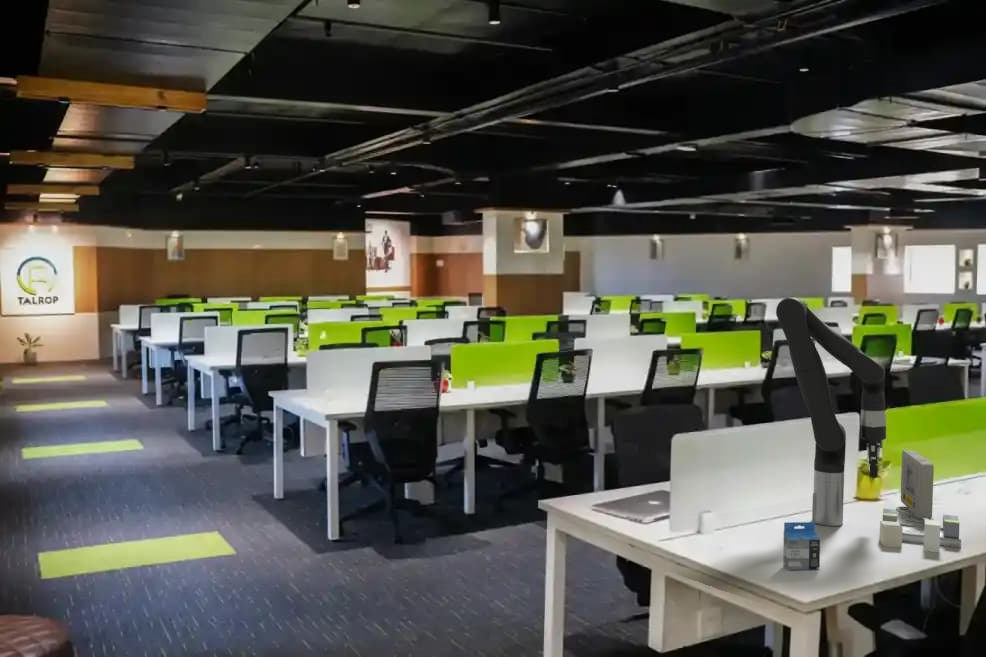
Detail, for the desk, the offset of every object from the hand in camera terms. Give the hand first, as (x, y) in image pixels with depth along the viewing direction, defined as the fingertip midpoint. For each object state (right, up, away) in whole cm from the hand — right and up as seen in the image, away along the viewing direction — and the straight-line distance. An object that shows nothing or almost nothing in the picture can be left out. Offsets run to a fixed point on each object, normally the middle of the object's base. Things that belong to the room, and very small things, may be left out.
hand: (873, 474), depth 287 cm
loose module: (+7, -18, -22) cm, 30 cm away
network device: (+21, -17, +17) cm, 32 cm away
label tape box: (-37, -19, -41) cm, 59 cm away
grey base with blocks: (+10, -18, -10) cm, 23 cm away
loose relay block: (-2, -18, -17) cm, 25 cm away
